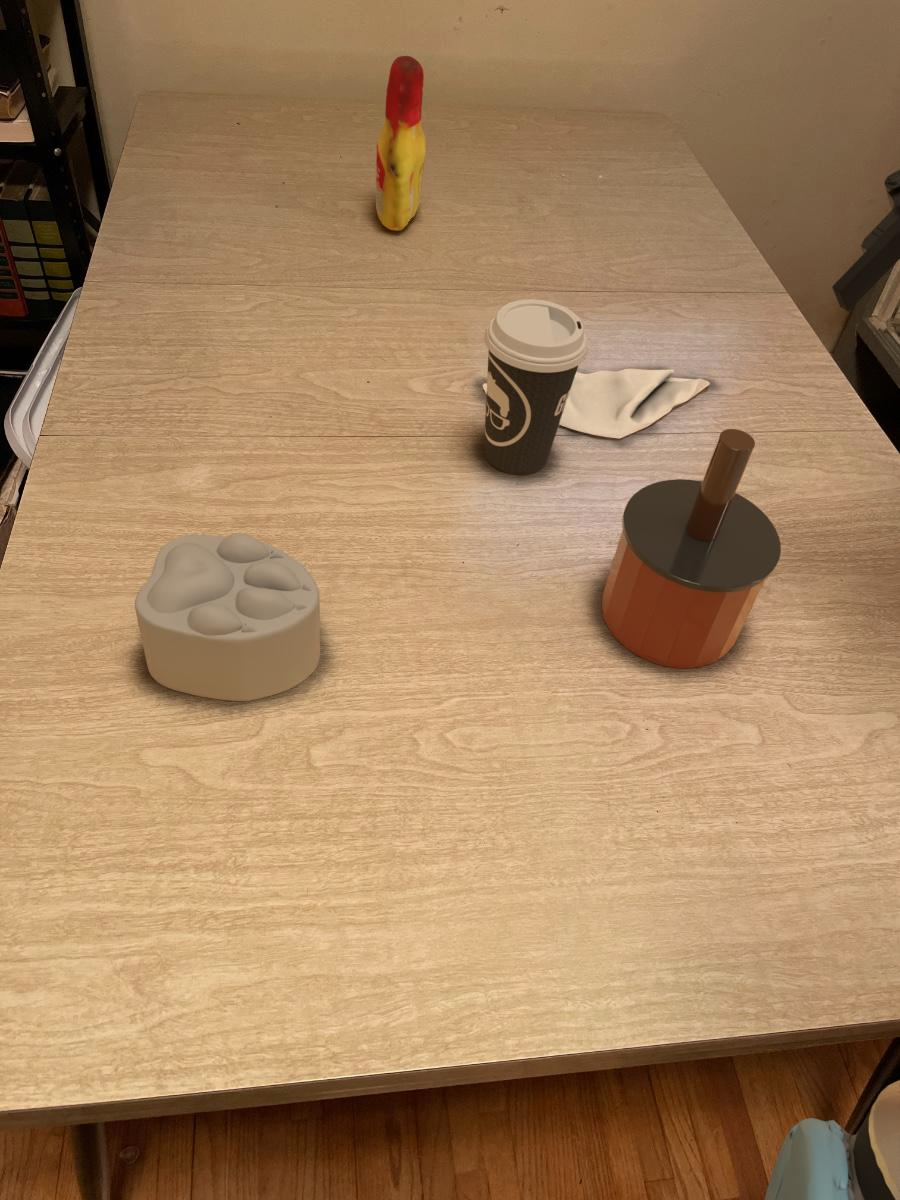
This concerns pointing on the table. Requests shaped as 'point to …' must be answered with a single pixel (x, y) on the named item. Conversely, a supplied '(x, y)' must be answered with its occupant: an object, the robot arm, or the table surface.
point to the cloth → (623, 400)
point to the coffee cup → (529, 381)
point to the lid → (705, 525)
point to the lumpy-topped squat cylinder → (229, 618)
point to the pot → (670, 614)
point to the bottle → (401, 146)
